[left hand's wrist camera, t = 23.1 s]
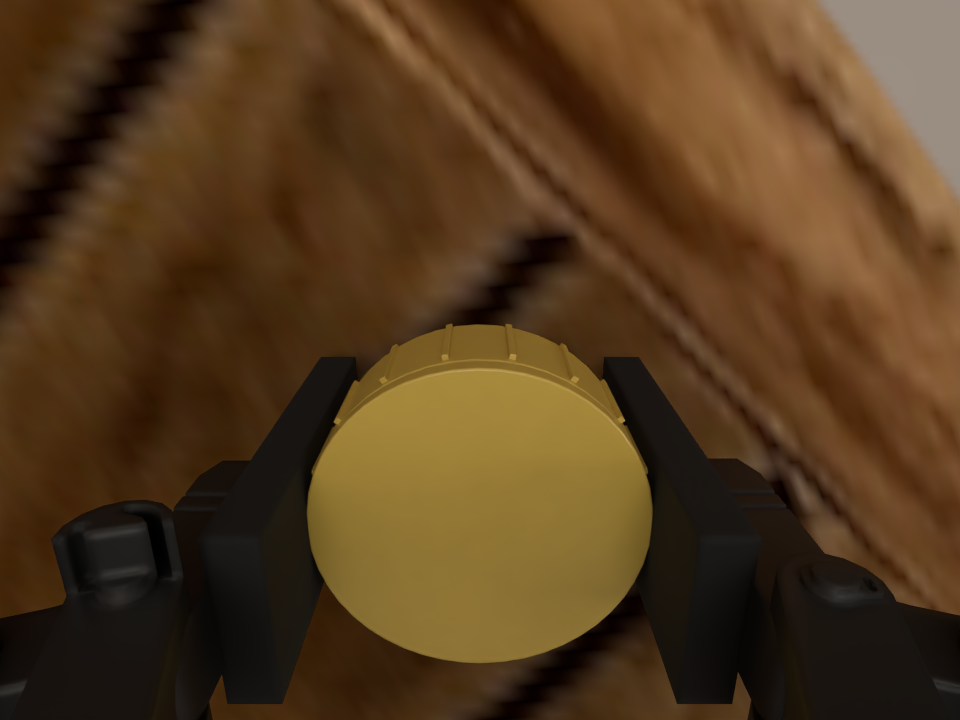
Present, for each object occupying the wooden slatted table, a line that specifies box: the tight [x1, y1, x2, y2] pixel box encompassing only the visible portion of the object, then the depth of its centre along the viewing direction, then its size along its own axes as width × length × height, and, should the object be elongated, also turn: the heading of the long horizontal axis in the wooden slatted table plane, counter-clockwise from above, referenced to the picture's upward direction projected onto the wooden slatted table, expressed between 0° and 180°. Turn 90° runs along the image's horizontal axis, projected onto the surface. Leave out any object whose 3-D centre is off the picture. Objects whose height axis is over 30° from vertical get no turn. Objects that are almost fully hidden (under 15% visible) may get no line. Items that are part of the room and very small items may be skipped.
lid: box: [307, 324, 653, 663], centre depth 11 cm, size 6×6×2 cm
